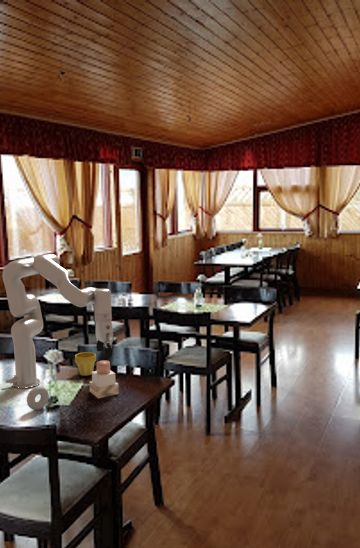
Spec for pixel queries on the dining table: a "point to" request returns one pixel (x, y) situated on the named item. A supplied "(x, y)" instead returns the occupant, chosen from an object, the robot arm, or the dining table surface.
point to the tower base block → (104, 390)
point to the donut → (32, 396)
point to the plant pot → (85, 362)
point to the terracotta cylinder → (103, 367)
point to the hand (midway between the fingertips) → (104, 353)
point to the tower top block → (103, 379)
